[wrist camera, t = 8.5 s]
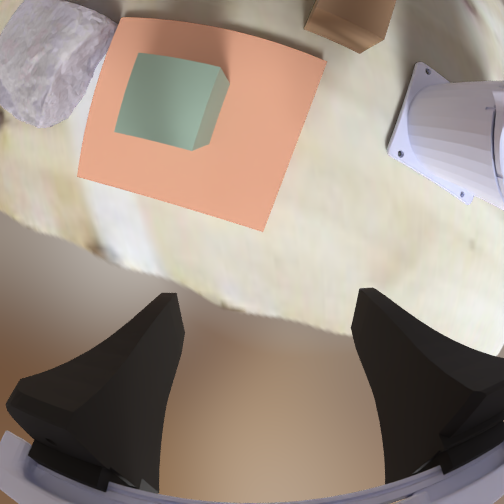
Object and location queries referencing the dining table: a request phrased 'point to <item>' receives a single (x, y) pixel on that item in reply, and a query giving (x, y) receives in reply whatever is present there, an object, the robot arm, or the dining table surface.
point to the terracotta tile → (226, 129)
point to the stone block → (50, 58)
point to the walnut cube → (351, 21)
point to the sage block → (172, 101)
